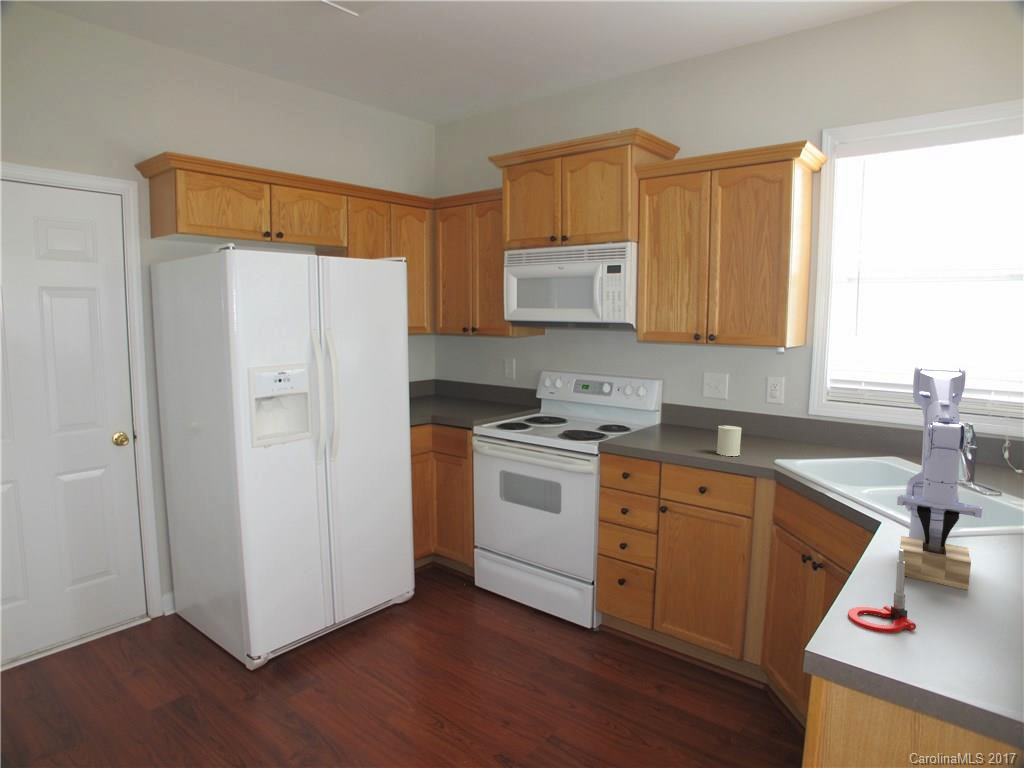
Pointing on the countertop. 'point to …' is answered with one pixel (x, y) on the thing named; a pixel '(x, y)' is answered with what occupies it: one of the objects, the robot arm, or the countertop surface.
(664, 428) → the countertop surface
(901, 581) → the tow hook
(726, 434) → the can
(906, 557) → the slotted wooden block
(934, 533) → the grey flat piece
